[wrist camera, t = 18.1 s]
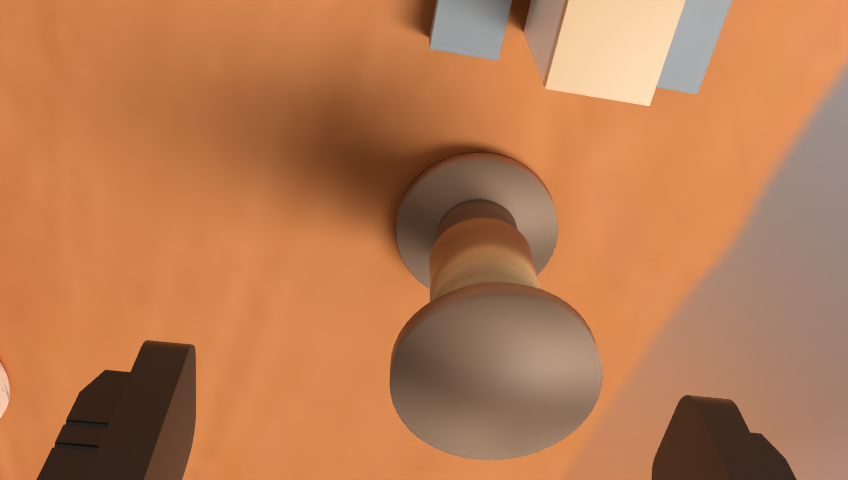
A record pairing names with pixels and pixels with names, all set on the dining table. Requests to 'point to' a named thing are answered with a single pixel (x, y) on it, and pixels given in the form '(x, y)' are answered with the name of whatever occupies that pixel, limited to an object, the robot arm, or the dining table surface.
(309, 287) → the dining table surface
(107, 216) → the dining table surface
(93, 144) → the dining table surface
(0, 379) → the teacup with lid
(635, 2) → the tan rectangular block
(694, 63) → the gray notched plate
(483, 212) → the doorknob
